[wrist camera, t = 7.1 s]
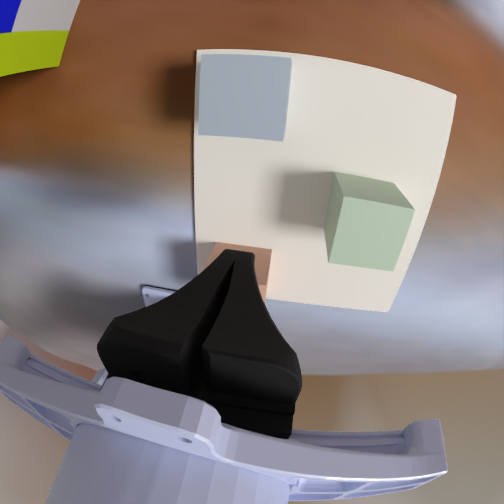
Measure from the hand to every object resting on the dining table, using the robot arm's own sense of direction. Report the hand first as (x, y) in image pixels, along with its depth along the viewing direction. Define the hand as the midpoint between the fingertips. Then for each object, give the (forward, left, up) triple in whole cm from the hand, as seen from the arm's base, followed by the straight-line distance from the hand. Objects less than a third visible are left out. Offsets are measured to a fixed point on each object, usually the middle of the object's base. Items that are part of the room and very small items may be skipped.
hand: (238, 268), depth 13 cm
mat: (0, -4, -9) cm, 10 cm away
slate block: (+7, +1, -9) cm, 12 cm away
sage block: (0, -7, -9) cm, 12 cm away
